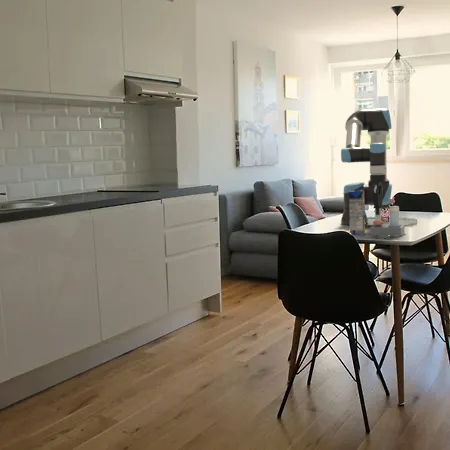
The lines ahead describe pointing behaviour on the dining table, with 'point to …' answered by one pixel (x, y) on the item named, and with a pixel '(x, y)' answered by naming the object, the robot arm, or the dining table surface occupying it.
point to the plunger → (378, 223)
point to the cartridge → (394, 216)
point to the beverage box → (357, 212)
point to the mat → (382, 236)
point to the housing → (387, 230)
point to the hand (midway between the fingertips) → (378, 220)
